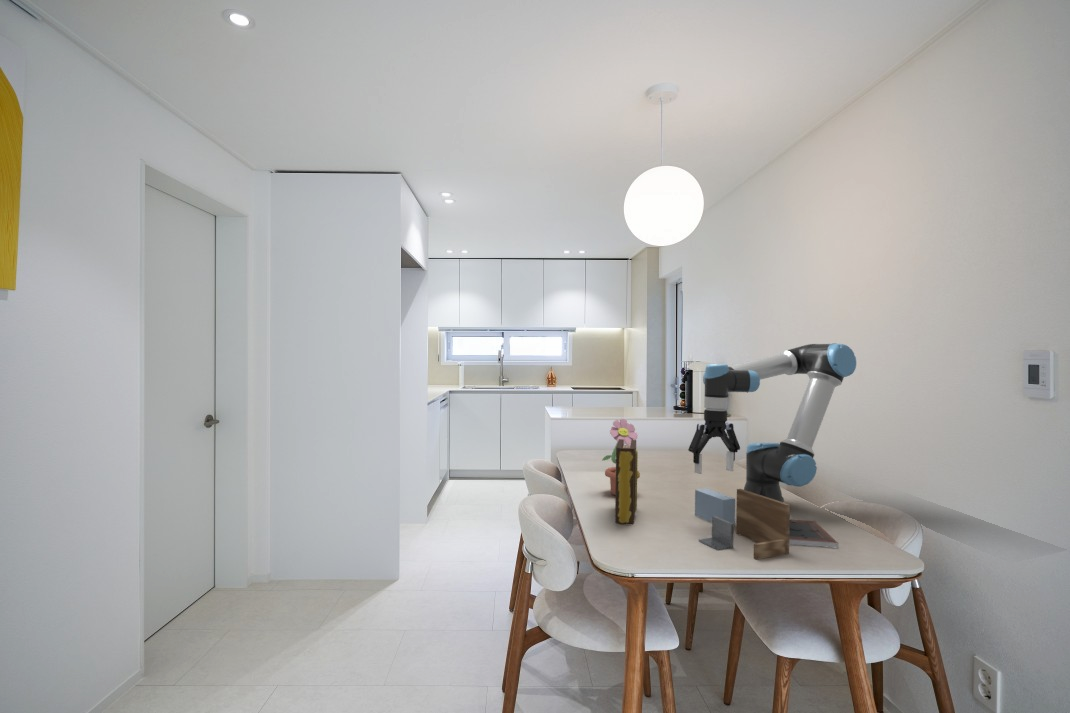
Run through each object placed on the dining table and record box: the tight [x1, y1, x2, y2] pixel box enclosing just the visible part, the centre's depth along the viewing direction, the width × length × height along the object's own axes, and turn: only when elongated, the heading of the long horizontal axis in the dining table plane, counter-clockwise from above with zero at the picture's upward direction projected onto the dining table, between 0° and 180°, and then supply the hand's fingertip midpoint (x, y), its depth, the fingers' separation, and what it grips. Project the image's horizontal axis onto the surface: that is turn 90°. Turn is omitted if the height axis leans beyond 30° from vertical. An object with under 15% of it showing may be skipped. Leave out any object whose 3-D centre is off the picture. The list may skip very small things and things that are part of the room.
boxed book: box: [694, 488, 736, 527], centre depth 186 cm, size 5×14×9 cm, turn 23°
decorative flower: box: [601, 418, 641, 496], centre depth 218 cm, size 15×14×30 cm
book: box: [614, 439, 640, 525], centre depth 191 cm, size 22×8×25 cm, turn 168°
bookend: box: [698, 516, 735, 551], centre depth 162 cm, size 6×8×7 cm
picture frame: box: [789, 518, 839, 548], centre depth 173 cm, size 16×2×22 cm
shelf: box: [735, 488, 791, 560], centre depth 162 cm, size 12×19×14 cm, turn 23°
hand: (714, 471), depth 186 cm, fingers open, 13 cm apart
